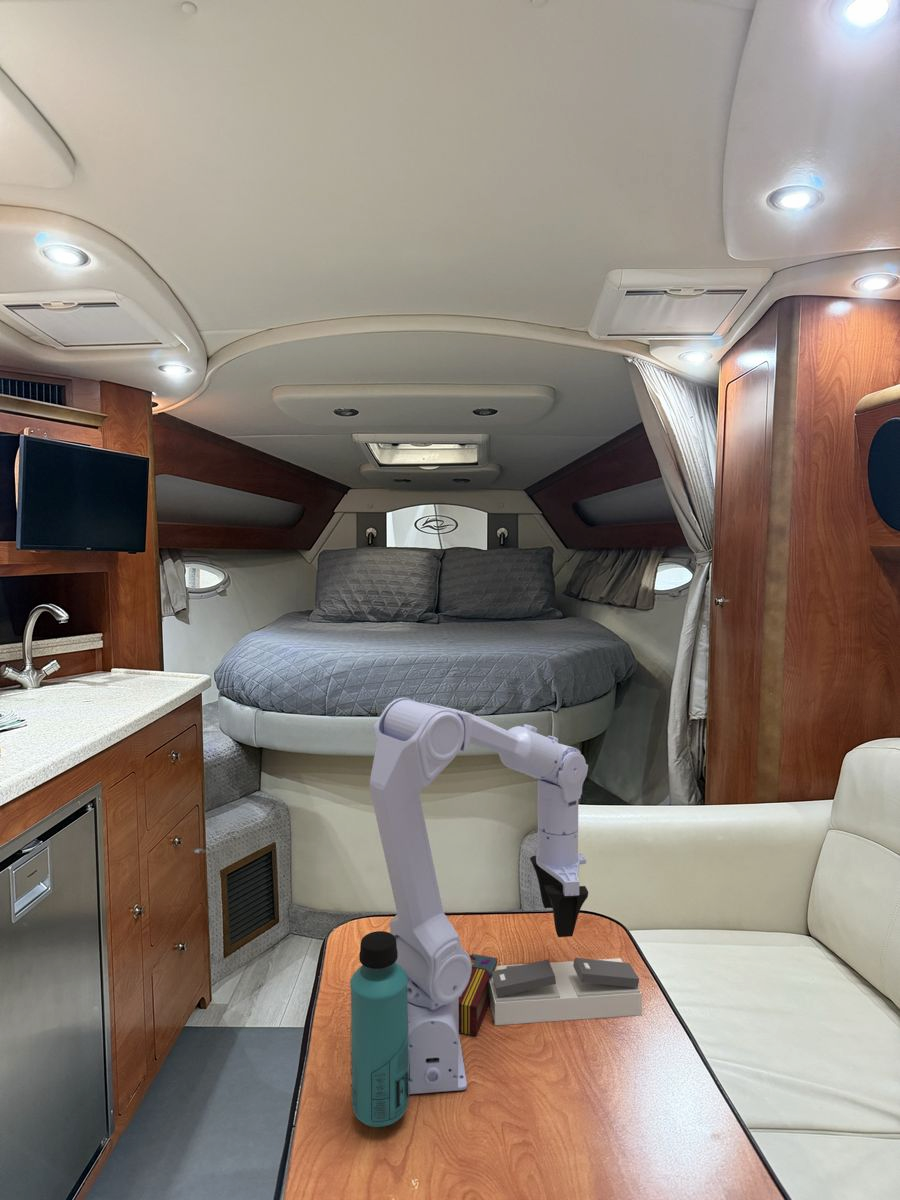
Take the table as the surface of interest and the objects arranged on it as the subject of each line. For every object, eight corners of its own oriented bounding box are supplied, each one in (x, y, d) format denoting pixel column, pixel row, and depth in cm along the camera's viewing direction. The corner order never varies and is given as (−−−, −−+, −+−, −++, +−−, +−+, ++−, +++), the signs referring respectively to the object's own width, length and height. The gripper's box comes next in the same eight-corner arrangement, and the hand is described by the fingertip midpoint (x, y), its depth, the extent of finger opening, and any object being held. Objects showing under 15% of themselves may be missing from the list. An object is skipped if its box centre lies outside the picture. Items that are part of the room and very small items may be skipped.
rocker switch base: (641, 1015, 88) (641, 991, 87) (495, 1025, 86) (495, 1001, 86) (620, 978, 96) (620, 956, 95) (485, 986, 94) (485, 964, 93)
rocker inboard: (556, 983, 87) (554, 974, 87) (497, 996, 86) (496, 987, 86) (549, 967, 90) (548, 958, 90) (493, 979, 90) (491, 970, 89)
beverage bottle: (401, 1148, 67) (400, 959, 67) (340, 1136, 69) (339, 952, 68) (417, 1098, 74) (416, 926, 73) (361, 1088, 75) (360, 919, 74)
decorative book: (477, 1041, 83) (477, 1003, 83) (362, 1016, 88) (361, 980, 88) (497, 987, 94) (497, 954, 94) (394, 967, 99) (393, 935, 99)
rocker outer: (637, 987, 88) (639, 978, 88) (580, 982, 87) (582, 972, 87) (627, 971, 91) (629, 962, 91) (573, 966, 91) (574, 957, 91)
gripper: (602, 847, 86) (601, 947, 86) (570, 807, 100) (570, 894, 101) (549, 850, 85) (549, 951, 86) (525, 809, 99) (525, 896, 100)
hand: (557, 920), depth 93 cm, fingers open, 7 cm apart
